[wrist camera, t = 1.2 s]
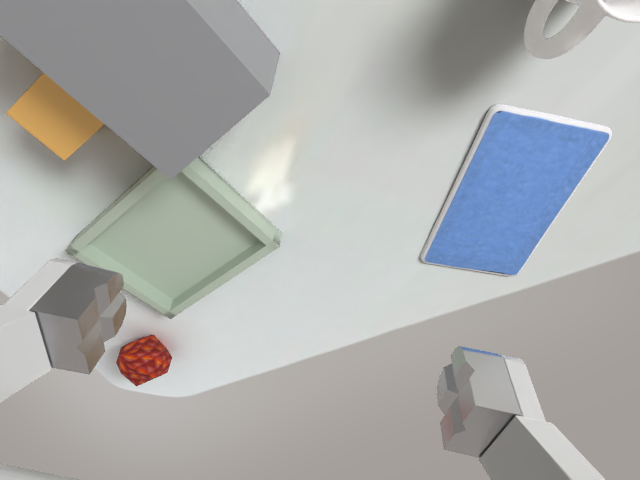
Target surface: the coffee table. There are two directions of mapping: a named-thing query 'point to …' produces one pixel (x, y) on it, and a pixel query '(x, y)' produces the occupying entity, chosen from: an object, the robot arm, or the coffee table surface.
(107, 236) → the tray
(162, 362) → the red bumpy oval lump
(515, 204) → the tablet computer
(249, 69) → the block
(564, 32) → the mug
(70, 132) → the orange rectangular block
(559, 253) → the coffee table surface
